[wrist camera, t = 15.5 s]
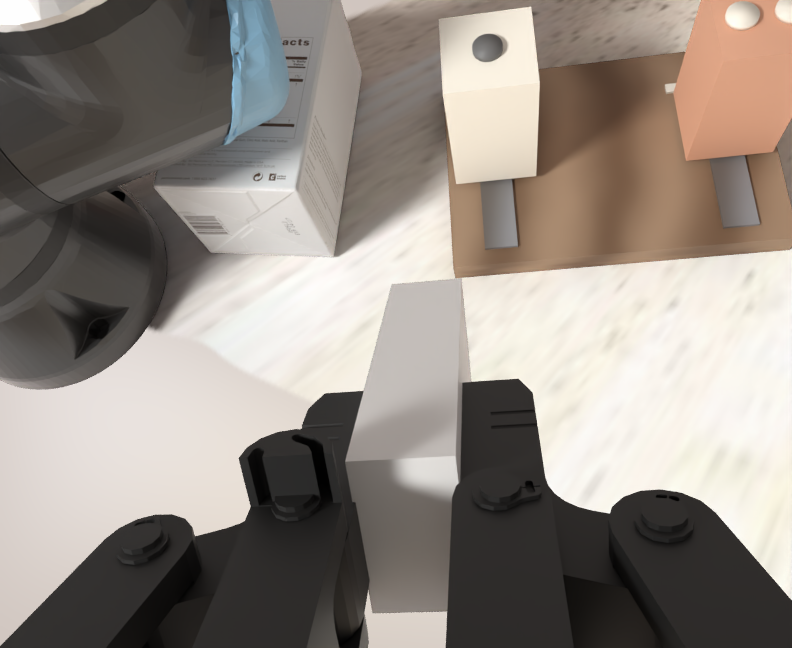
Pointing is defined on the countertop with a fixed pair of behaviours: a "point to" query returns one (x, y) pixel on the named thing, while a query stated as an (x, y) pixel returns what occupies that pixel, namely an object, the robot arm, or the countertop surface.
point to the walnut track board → (616, 183)
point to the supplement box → (281, 151)
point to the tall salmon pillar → (736, 79)
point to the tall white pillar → (491, 94)
